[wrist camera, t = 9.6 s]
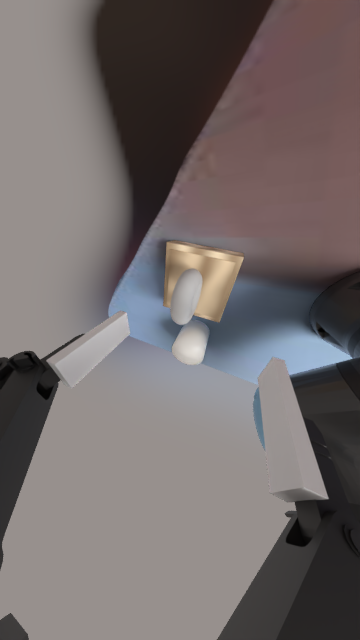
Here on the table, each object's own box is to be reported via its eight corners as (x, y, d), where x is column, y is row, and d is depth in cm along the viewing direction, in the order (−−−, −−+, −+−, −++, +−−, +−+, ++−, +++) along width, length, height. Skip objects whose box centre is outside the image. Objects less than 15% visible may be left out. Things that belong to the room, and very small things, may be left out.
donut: (190, 260, 26) (169, 276, 18) (208, 264, 25) (194, 282, 17) (183, 306, 32) (165, 332, 24) (197, 310, 31) (183, 338, 23)
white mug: (212, 324, 37) (207, 348, 30) (203, 350, 43) (197, 375, 36) (184, 316, 38) (173, 336, 32) (180, 342, 45) (169, 364, 38)
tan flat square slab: (243, 253, 26) (244, 257, 23) (221, 313, 34) (219, 323, 31) (174, 240, 29) (166, 242, 25) (169, 299, 37) (162, 306, 34)
